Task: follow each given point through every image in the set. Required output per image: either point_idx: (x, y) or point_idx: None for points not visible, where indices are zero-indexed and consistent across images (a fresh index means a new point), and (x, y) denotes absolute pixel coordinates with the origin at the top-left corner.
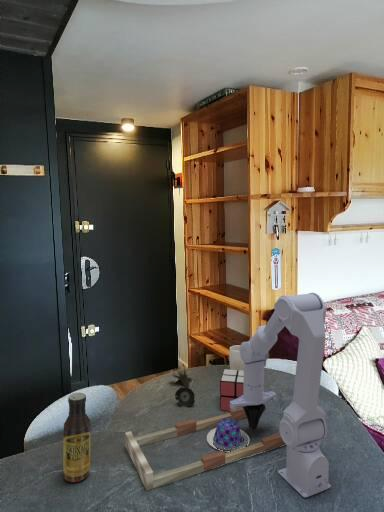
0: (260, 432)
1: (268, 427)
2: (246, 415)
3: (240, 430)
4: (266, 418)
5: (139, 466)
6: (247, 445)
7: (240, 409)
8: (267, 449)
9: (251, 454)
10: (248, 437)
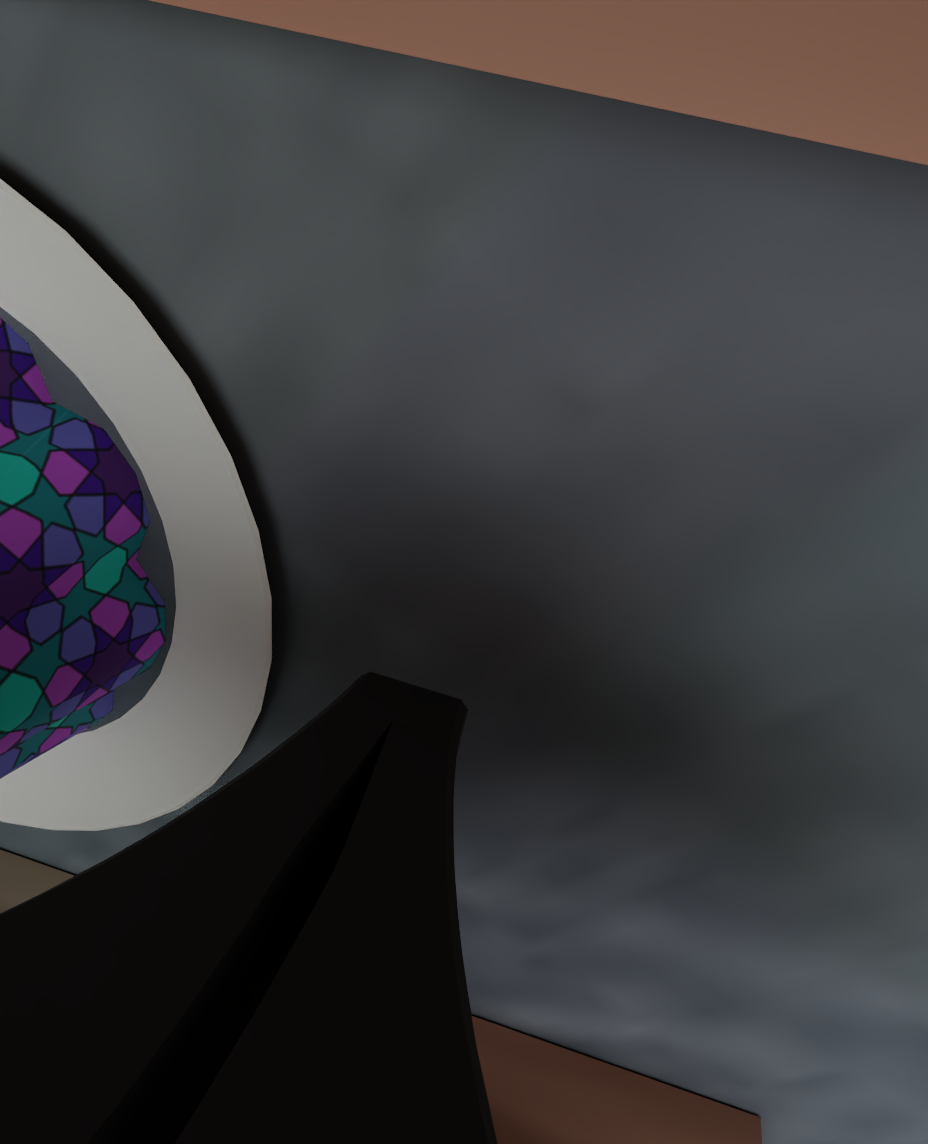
0: (554, 765)
1: (837, 787)
2: (170, 829)
3: (237, 518)
4: None
5: None
6: (106, 826)
7: (610, 39)
8: None
9: None
10: (230, 743)
